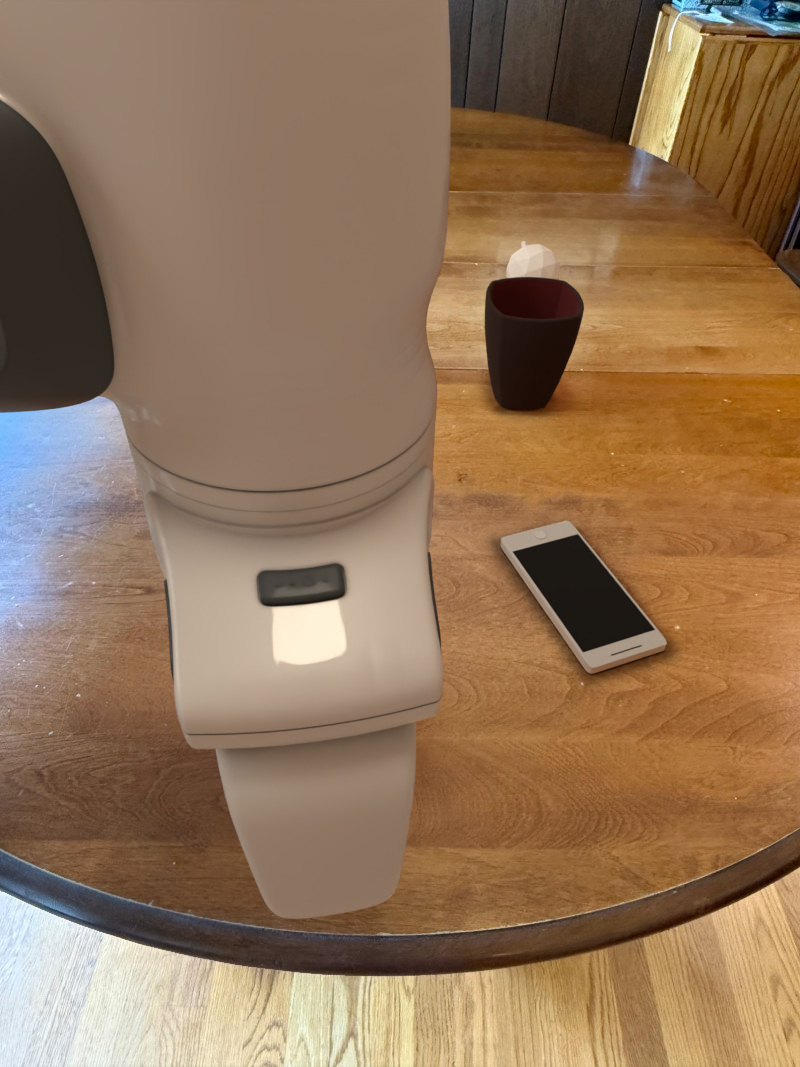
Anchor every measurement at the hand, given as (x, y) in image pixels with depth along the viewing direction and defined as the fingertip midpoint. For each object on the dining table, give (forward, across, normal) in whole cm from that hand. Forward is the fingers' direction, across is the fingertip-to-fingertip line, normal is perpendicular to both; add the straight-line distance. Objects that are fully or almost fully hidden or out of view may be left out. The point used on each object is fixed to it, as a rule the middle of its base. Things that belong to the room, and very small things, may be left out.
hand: (315, 725), depth 33 cm
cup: (+19, -54, +27) cm, 63 cm away
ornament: (+19, -76, +35) cm, 86 cm away
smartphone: (+19, -22, +23) cm, 37 cm away
